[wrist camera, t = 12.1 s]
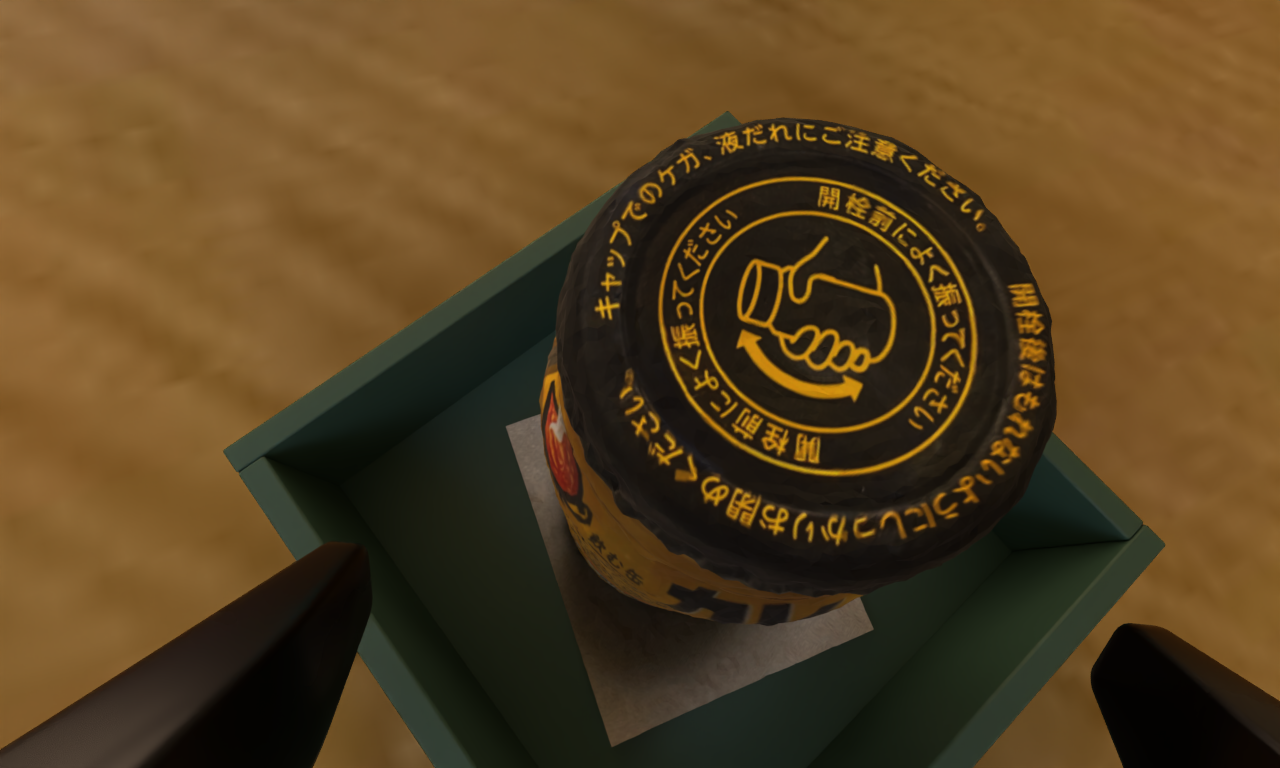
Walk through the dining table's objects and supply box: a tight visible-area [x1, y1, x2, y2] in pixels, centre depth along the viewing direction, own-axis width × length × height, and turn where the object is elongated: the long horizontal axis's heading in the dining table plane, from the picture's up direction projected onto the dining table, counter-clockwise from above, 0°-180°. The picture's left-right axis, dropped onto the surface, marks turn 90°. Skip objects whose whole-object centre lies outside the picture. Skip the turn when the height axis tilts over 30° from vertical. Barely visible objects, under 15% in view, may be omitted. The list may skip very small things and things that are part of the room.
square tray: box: [223, 111, 1165, 768], centre depth 16 cm, size 14×14×5 cm
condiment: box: [506, 118, 1057, 747], centre depth 12 cm, size 7×8×12 cm
